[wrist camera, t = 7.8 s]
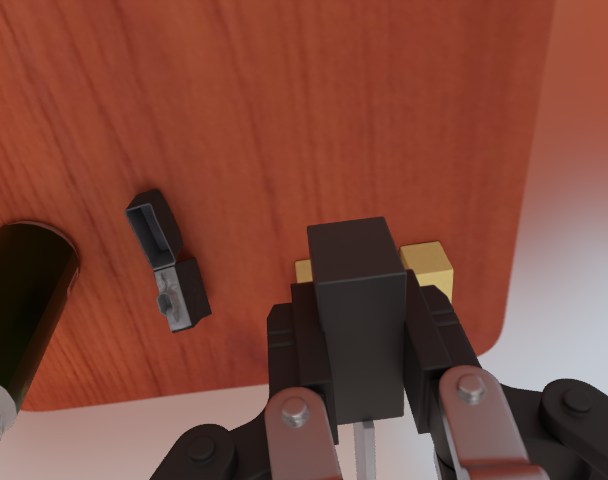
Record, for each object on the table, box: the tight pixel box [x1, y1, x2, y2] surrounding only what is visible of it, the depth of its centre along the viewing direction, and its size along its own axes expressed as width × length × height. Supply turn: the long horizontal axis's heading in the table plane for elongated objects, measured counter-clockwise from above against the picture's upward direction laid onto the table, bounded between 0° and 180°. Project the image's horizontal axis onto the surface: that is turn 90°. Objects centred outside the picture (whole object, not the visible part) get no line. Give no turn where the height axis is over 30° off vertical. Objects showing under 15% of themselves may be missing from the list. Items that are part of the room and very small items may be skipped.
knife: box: [307, 217, 407, 480], centre depth 16 cm, size 14×2×3 cm, turn 5°
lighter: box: [125, 189, 212, 333], centre depth 30 cm, size 8×2×5 cm
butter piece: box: [400, 241, 453, 303], centre depth 33 cm, size 2×4×3 cm
